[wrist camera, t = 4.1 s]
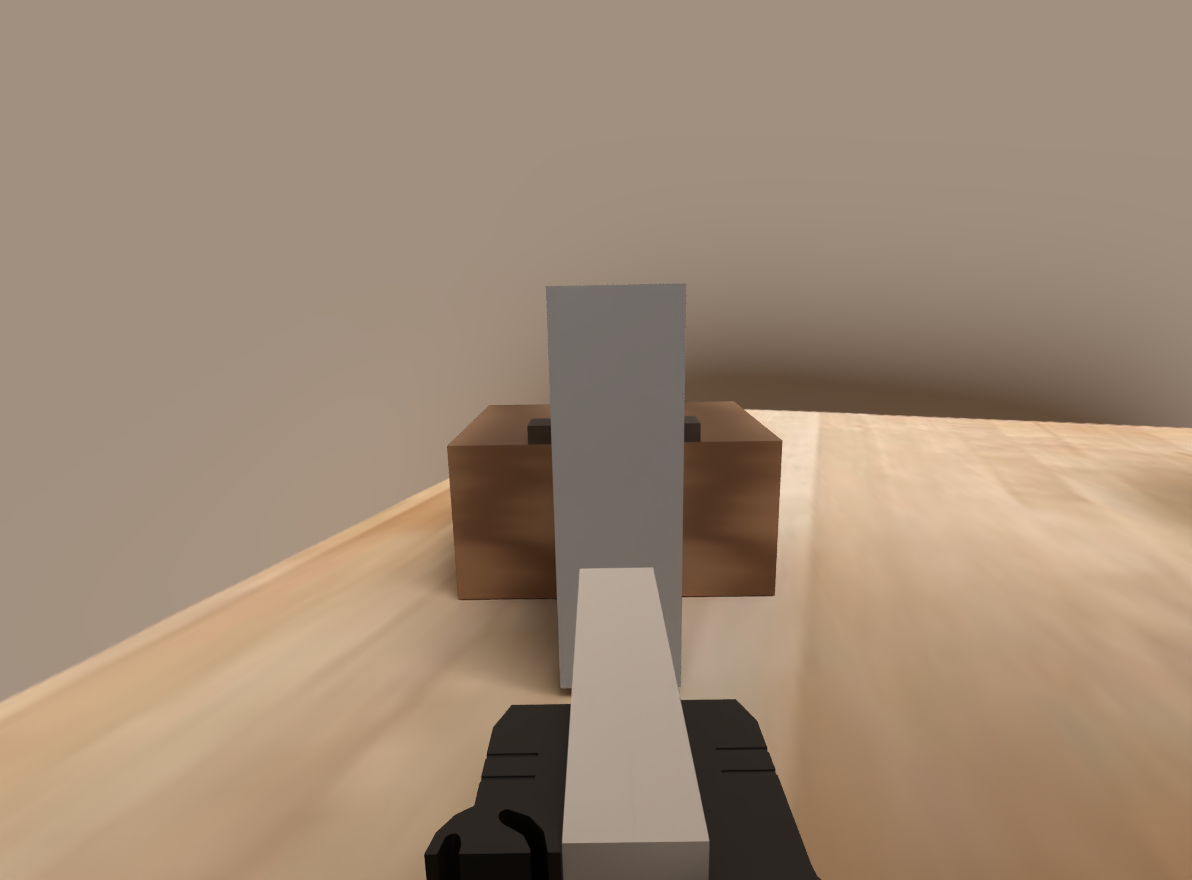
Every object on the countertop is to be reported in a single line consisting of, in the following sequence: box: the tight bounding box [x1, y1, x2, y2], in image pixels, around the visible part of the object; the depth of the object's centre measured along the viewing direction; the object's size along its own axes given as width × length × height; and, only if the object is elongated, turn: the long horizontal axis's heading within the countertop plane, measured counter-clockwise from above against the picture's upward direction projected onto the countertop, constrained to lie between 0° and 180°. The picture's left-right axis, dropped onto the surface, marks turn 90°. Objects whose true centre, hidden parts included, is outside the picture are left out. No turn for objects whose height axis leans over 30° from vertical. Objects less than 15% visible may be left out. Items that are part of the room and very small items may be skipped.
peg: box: [546, 284, 686, 688], centre depth 23 cm, size 4×8×13 cm, turn 179°
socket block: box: [447, 401, 782, 599], centre depth 32 cm, size 14×10×8 cm
